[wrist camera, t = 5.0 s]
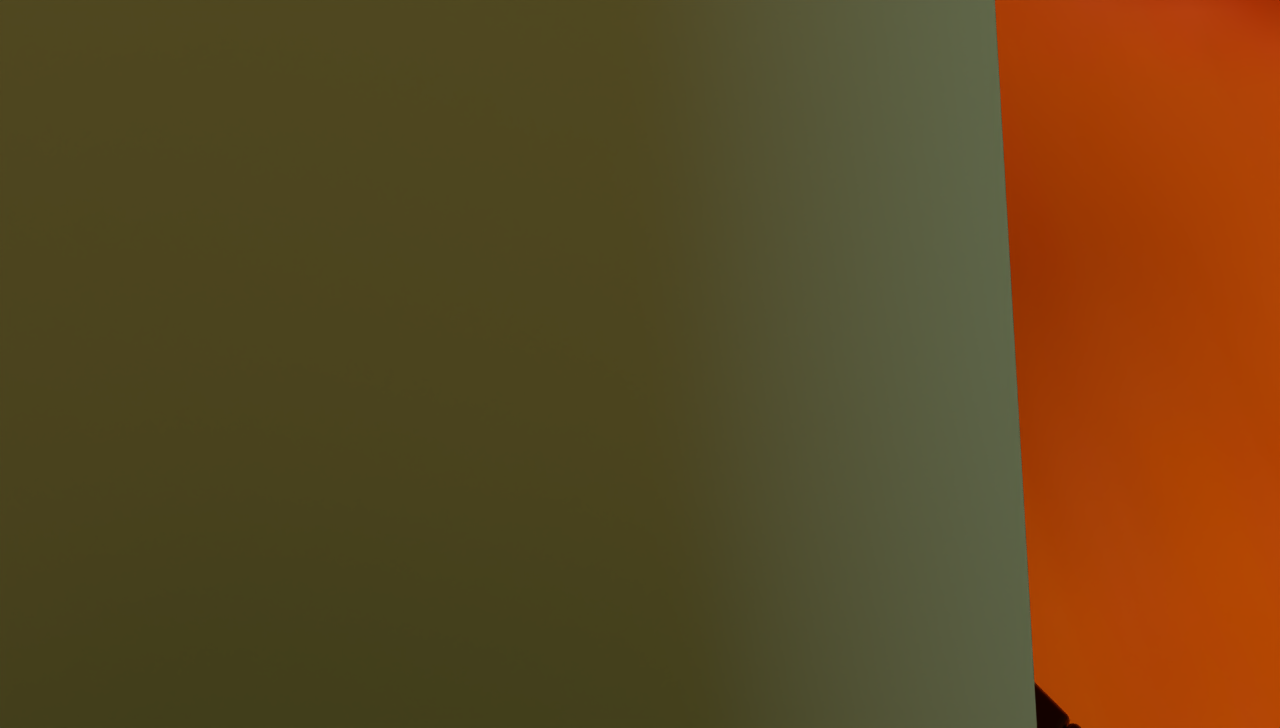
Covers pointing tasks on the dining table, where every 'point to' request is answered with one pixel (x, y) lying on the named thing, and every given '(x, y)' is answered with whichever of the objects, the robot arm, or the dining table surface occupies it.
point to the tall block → (507, 366)
